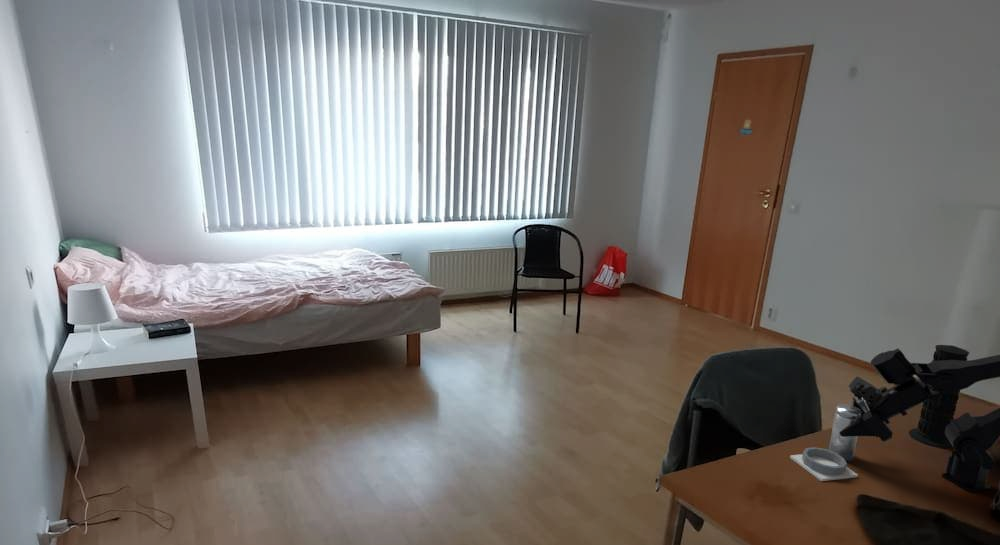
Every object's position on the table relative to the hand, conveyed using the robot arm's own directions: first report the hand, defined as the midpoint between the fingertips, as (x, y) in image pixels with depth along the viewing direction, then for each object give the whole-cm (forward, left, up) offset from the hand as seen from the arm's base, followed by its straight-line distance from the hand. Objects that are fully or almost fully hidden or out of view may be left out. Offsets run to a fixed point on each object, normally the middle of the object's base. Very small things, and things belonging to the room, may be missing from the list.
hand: (838, 429), depth 136 cm
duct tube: (-1, -1, -7) cm, 7 cm away
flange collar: (-5, +8, -7) cm, 11 cm away
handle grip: (+2, -33, -7) cm, 34 cm away
